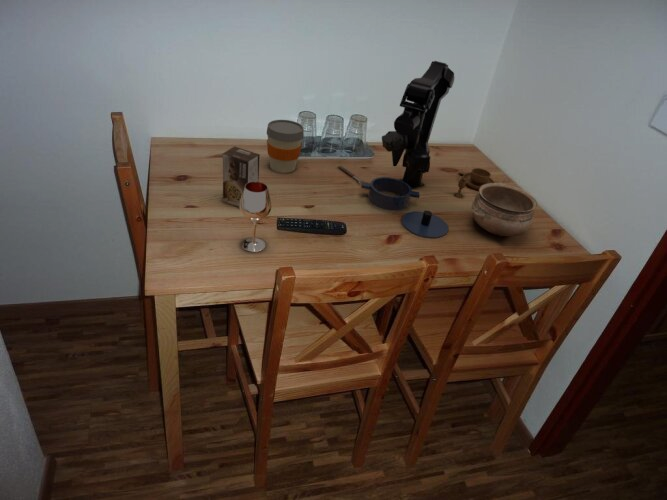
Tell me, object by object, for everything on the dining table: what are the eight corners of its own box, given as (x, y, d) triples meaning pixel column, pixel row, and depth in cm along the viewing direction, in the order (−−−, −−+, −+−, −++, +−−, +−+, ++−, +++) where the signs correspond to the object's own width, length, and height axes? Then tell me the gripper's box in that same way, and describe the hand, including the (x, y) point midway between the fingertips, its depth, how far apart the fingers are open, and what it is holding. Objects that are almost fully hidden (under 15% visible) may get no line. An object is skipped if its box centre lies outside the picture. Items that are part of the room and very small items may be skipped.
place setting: (504, 195, 183) (510, 180, 180) (457, 198, 177) (462, 183, 173) (478, 172, 197) (482, 158, 193) (433, 175, 190) (437, 160, 186)
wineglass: (239, 235, 141) (241, 178, 131) (269, 237, 142) (272, 180, 132) (237, 253, 135) (238, 193, 124) (268, 254, 136) (272, 196, 125)
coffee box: (258, 202, 157) (261, 154, 148) (247, 210, 152) (248, 161, 143) (233, 193, 160) (234, 145, 151) (221, 201, 155) (221, 152, 146)
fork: (372, 188, 175) (369, 164, 173) (367, 189, 173) (363, 165, 171) (345, 188, 187) (342, 165, 185) (340, 189, 186) (336, 167, 184)
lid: (401, 210, 164) (404, 197, 162) (446, 218, 164) (450, 205, 161) (400, 234, 152) (404, 220, 150) (448, 243, 152) (453, 229, 149)
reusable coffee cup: (273, 177, 172) (276, 135, 163) (259, 161, 181) (261, 120, 172) (306, 172, 178) (310, 132, 169) (291, 157, 186) (294, 118, 178)
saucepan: (361, 187, 174) (364, 172, 171) (416, 196, 174) (419, 182, 171) (357, 206, 163) (360, 191, 160) (416, 216, 163) (420, 201, 159)
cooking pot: (484, 253, 150) (497, 218, 143) (446, 219, 163) (456, 186, 156) (545, 240, 161) (559, 207, 154) (505, 210, 174) (516, 178, 167)
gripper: (374, 113, 155) (366, 160, 163) (403, 138, 141) (391, 188, 150) (406, 113, 159) (396, 159, 168) (437, 137, 145) (424, 186, 154)
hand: (401, 172), depth 160 cm, fingers open, 9 cm apart
